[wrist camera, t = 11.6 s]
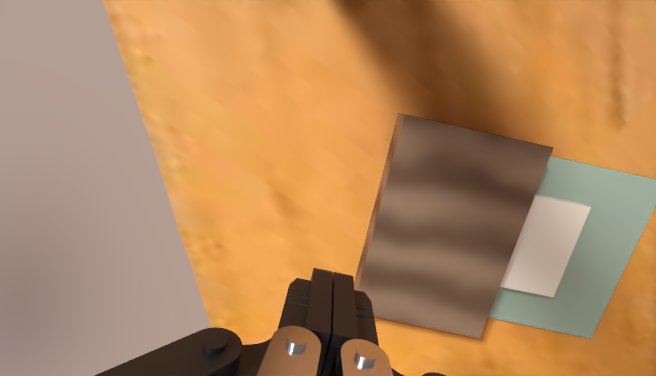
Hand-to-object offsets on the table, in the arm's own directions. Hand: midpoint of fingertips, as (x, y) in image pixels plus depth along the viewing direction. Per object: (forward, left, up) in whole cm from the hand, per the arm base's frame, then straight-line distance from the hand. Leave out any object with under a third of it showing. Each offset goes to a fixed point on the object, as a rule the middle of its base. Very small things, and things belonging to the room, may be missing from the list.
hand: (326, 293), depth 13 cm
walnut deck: (+5, +14, -29) cm, 33 cm away
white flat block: (+5, +26, -29) cm, 39 cm away
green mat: (+5, +31, -29) cm, 42 cm away
